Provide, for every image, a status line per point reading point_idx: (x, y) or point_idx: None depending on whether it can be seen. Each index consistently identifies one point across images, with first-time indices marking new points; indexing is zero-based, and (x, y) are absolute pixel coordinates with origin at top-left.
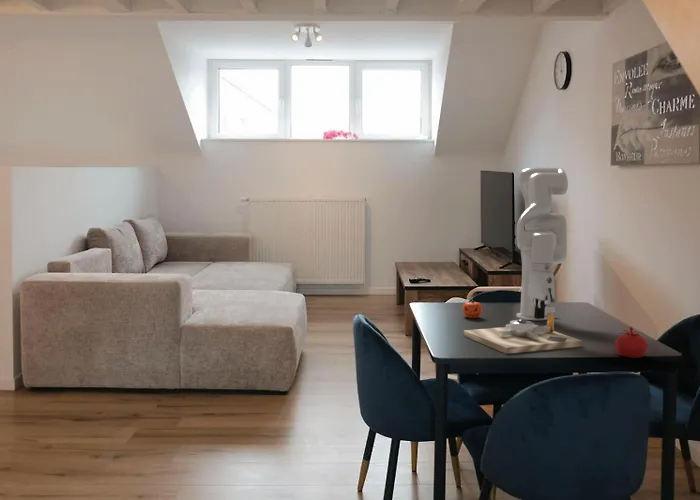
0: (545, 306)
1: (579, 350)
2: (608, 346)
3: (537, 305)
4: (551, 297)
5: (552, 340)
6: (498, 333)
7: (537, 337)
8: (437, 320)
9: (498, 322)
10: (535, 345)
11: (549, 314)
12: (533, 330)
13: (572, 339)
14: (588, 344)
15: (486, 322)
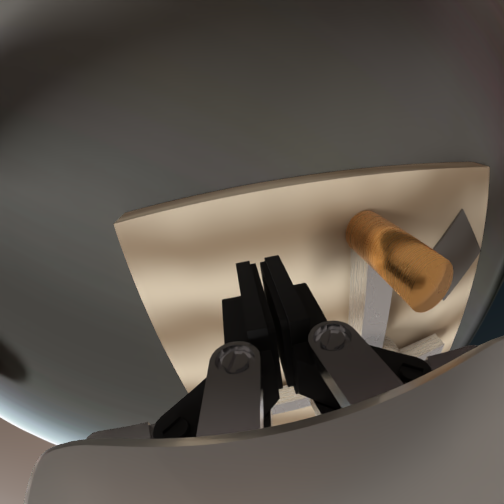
0: (355, 337)
1: (491, 205)
2: (479, 67)
3: (276, 400)
4: (489, 370)
5: (456, 284)
6: (295, 417)
7: (437, 340)
8: (53, 430)
9: (6, 312)
10: (450, 344)
11: (424, 295)
12: (397, 349)
13: (473, 193)
14: (459, 110)
15: (21, 350)
